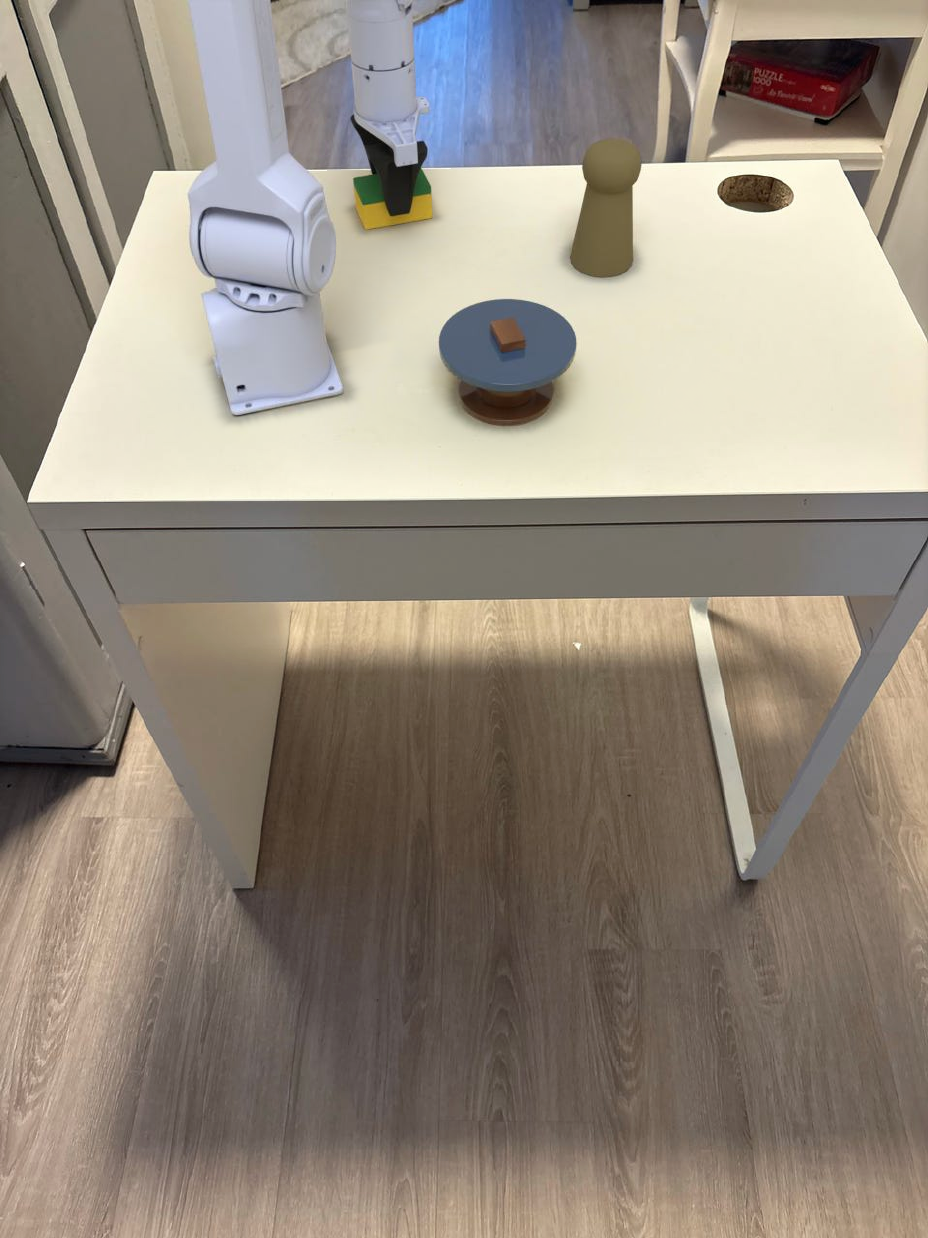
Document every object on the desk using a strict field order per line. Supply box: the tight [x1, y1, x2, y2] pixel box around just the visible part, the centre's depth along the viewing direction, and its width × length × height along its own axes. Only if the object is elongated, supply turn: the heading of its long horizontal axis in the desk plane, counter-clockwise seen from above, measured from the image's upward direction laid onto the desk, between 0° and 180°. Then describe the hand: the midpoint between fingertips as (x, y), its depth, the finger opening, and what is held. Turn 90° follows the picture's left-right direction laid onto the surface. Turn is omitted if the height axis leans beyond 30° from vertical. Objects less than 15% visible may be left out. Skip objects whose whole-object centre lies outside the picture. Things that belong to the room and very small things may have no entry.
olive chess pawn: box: [569, 137, 643, 278], centre depth 90 cm, size 6×6×11 cm
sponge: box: [352, 167, 433, 230], centre depth 99 cm, size 7×4×3 cm, turn 107°
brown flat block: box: [490, 318, 526, 353], centre depth 78 cm, size 2×3×1 cm, turn 17°
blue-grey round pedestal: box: [438, 298, 578, 427], centre depth 81 cm, size 11×11×6 cm
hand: (393, 200), depth 99 cm, fingers open, 4 cm apart
